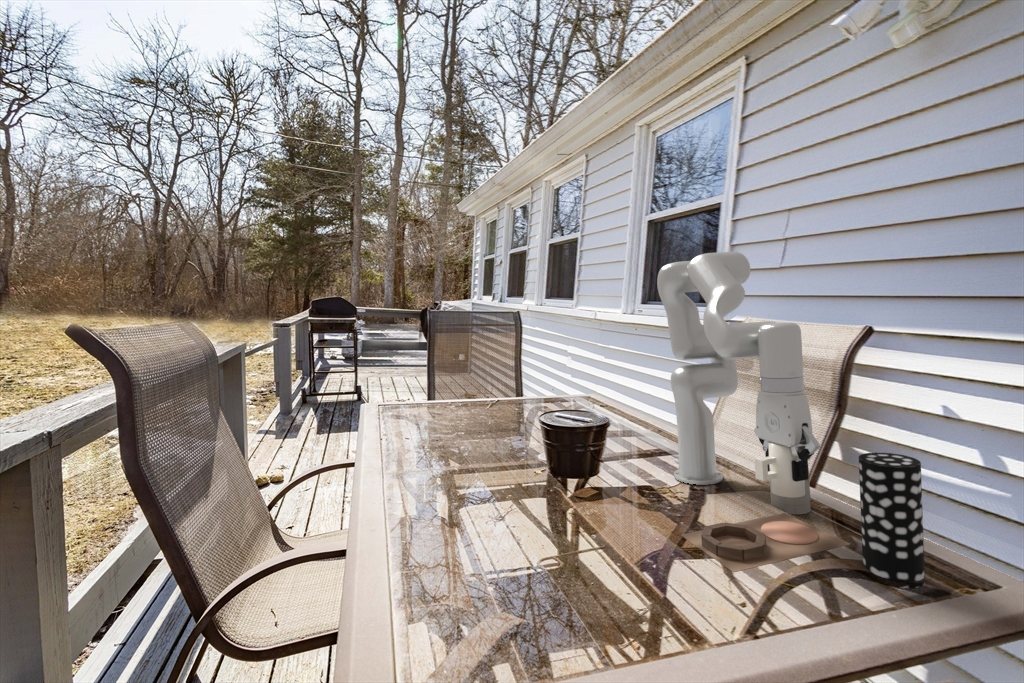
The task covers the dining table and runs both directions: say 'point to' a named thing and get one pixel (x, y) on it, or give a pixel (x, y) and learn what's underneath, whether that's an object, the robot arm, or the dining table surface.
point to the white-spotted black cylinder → (892, 517)
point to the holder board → (761, 541)
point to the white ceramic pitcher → (779, 471)
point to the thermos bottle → (793, 501)
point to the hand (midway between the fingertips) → (786, 474)
